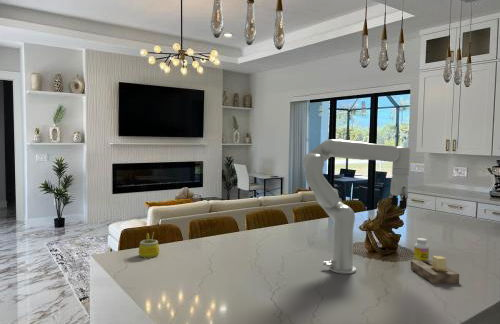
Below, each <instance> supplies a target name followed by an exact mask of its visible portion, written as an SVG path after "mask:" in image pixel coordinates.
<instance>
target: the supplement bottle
mask: <svg viewBox="0 0 500 324" xmlns="http://www.w3.org/2000/svg"><path fill="white" fill-rule="evenodd" d="M427 242H428V239H427V238H422V237H418V238H416V243H415V244H414V250H413V251H414V256H413V261H422V260H429V255H430V254H429V252H430V251H429V250H430V248H429V247H430V245H429V244H427Z"/></svg>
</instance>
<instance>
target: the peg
mask: <svg viewBox="0 0 500 324" xmlns="http://www.w3.org/2000/svg"><path fill="white" fill-rule="evenodd" d="M432 260H433V265H432V270H433V271H435V272H446V267H447V258H446V257H445V256H442V255H432Z"/></svg>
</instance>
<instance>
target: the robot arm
mask: <svg viewBox="0 0 500 324" xmlns="http://www.w3.org/2000/svg"><path fill="white" fill-rule="evenodd" d="M332 157H333V158H340V159H341V158H342V159H349V160H350V159H351V160H360V161H361V160H362V161H364V160H365V161H366V160H368V161H369V160H370V161H381V162H389V163H390V162H391V163H392V169H391V171H392V172H391V175H392V176H391V180H390V181H391V182H390V187H389V188H390V189H389V190H390V191H389V192H390V194H391V196H390V197H391V200H390V202H391V203H390V205H391V206H392V207H393V206H394V207H397V206H399V207H398V208H399V209H400V210H407V205H408V203H407V202H408V198H409V177H408V176H410V175H409V174H410V157H411V149H410V147H408V146H395V145H387V144H379V143H369V142H364V141H357V140H355V141H354V140H345V139H336V138H335V139H334V138H332V139H326V140H324V141H322V142H321V143H319V144H318V145H317V146H316V147H314V148H313V149H312V150H311V151H309V152H308V153H306V154H305V155H304V157H303V159H302V165H303V167H304V168H305V171H304V177H305V181H306V184H307V185H308V187H309V188H310V189H311V192H313V194H314V196H315V197H314V198H315V200H316V202H317V204H318V205H319V206H320V207H321V208H322V209H323V210H324V212H325V213H326V214H327V216H328V217H329V218H331V220H332V221H334V222H333V229H332V258H331V259H330V260H328V261H322V266H326V267H329V268H328V269H329V271H331V272H334V273H337V274H343V275H347V274H354V273H355V272H357V267H355V266H354V265H353V264H354V261H353V260H354V258H353V257H354V229H355V228H354V227H355V221H356V215H355V211H354V210H353V209H352V208H351V207H350V206H349V205H347V204H345V203H343V202H342V200H341V199H340V196H339V194H338V192H337V190H336V189H335V188H334V187H333V186H332V184H330V183H329V181H328V180H327V179H326V176H324V173H323V171H324V170H323V169H324V167H325V162H326V161H328V160H329V159H330V158H332ZM399 198H400V200H399Z"/></svg>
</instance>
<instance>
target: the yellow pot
mask: <svg viewBox="0 0 500 324" xmlns="http://www.w3.org/2000/svg"><path fill="white" fill-rule="evenodd" d="M154 234H155V231H152V237H151V239H150V234H149V233H148V232H147V233H146V239H143V240H141V241H140V242H139V247H138V254H139V255H138V256H139V257H141V258H146V259H147V258H155V257H157V256H158V255H159V253H160V246H159V241H158V240H157V239H153V238H154Z"/></svg>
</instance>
